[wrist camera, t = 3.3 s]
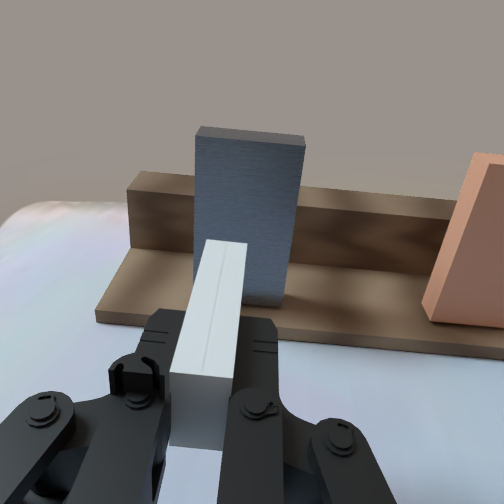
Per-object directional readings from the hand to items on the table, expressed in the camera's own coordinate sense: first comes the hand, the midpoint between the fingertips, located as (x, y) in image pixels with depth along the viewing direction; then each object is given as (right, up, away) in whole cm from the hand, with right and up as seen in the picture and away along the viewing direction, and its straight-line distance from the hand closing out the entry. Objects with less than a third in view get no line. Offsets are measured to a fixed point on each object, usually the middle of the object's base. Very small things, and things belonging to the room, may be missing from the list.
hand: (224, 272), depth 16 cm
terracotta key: (+16, -4, +14) cm, 21 cm away
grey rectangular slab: (0, -2, +13) cm, 14 cm away
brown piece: (+8, -2, +17) cm, 19 cm away
